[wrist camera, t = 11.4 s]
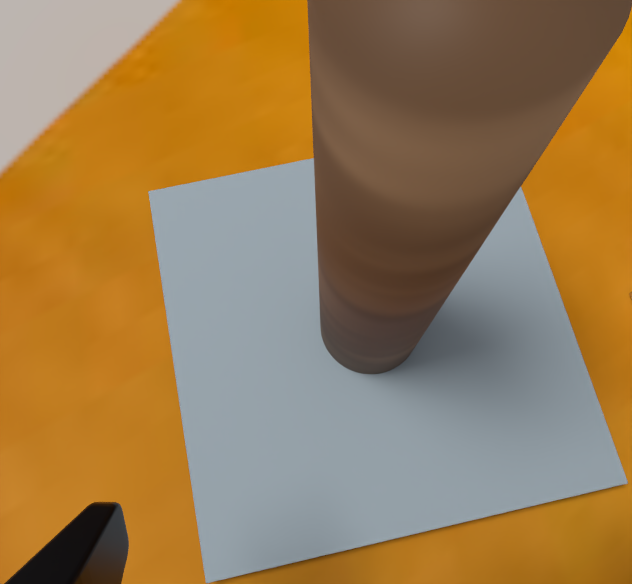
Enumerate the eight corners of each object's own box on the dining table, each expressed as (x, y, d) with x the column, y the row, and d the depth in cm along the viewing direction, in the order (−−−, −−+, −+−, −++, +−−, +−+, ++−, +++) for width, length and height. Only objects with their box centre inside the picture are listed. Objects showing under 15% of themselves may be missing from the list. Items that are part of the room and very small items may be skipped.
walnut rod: (439, 336, 18) (705, -9, 5) (359, 394, 17) (446, 165, 5) (378, 260, 18) (485, -194, 6) (301, 314, 18) (243, -61, 6)
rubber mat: (617, 482, 17) (628, 483, 16) (210, 579, 16) (205, 583, 16) (492, 131, 20) (497, 121, 20) (153, 199, 20) (148, 191, 19)
